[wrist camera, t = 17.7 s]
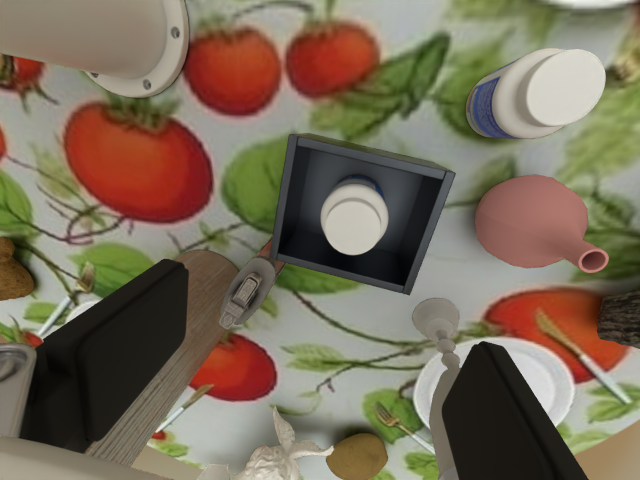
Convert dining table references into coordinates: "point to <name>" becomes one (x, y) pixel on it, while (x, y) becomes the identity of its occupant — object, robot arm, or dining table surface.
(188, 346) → the planter
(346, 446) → the potato
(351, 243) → the pill bottle
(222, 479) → the angel figurine
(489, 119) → the pill bottle
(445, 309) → the chalice
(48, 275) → the dining table surface
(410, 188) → the tub
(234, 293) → the lighter
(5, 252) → the ginger root
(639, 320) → the brown tree bark stump
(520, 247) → the pink vase
